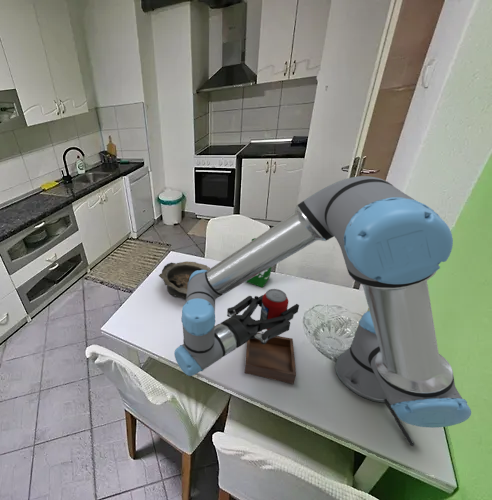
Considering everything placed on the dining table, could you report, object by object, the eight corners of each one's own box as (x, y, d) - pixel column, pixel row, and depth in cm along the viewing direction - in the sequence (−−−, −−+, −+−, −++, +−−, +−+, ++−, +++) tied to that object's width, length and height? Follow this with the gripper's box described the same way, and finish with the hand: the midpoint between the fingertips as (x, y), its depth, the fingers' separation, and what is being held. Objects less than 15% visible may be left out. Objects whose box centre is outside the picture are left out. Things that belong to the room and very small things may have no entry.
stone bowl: (150, 294, 123) (148, 277, 119) (181, 269, 139) (181, 253, 135) (199, 315, 108) (199, 296, 104) (227, 285, 124) (229, 267, 120)
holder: (293, 384, 81) (296, 375, 79) (244, 373, 86) (245, 364, 84) (290, 347, 91) (292, 338, 89) (246, 339, 96) (247, 330, 94)
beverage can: (261, 314, 88) (265, 285, 82) (285, 320, 85) (290, 290, 79) (257, 329, 84) (261, 299, 77) (282, 336, 80) (287, 305, 74)
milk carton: (252, 272, 127) (255, 234, 117) (272, 279, 122) (277, 239, 111) (243, 282, 122) (246, 243, 112) (264, 289, 116) (269, 249, 106)
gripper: (203, 323, 84) (258, 293, 92) (255, 371, 69) (315, 330, 77) (203, 305, 80) (260, 275, 88) (258, 351, 65) (320, 310, 73)
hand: (285, 300), depth 83 cm, fingers closed on beverage can, 7 cm apart
